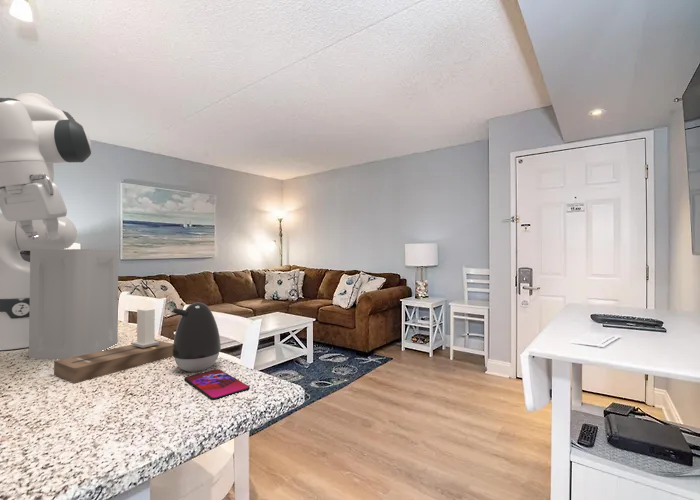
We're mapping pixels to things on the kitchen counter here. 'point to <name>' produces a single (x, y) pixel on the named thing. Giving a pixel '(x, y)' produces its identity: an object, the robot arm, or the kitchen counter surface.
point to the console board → (110, 361)
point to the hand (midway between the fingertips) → (43, 239)
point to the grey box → (72, 302)
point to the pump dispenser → (196, 338)
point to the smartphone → (216, 384)
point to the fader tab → (145, 328)
